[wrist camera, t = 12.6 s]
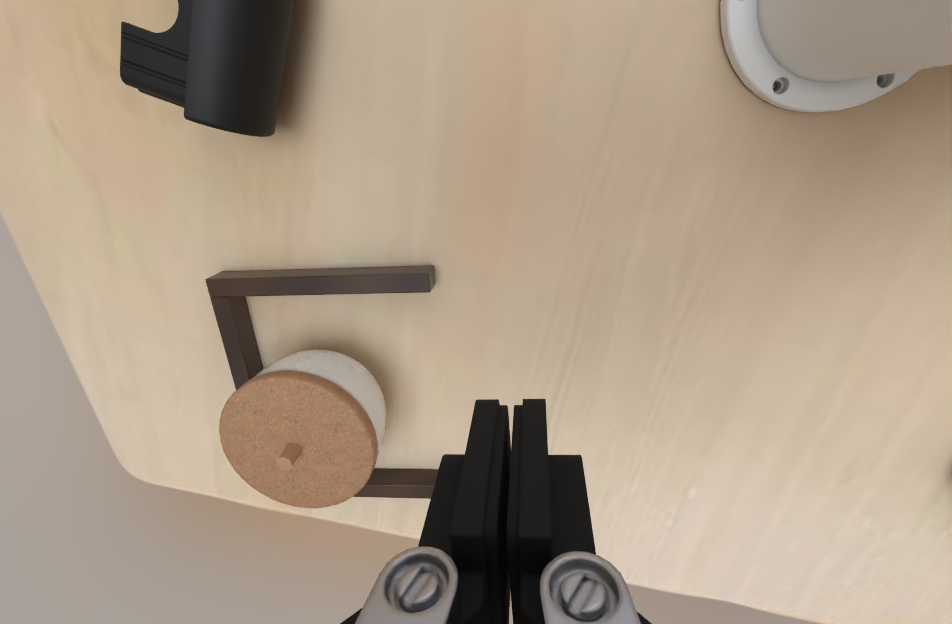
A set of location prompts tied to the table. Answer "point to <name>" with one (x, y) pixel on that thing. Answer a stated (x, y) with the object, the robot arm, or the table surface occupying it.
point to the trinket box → (306, 428)
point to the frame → (238, 284)
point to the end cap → (215, 62)
